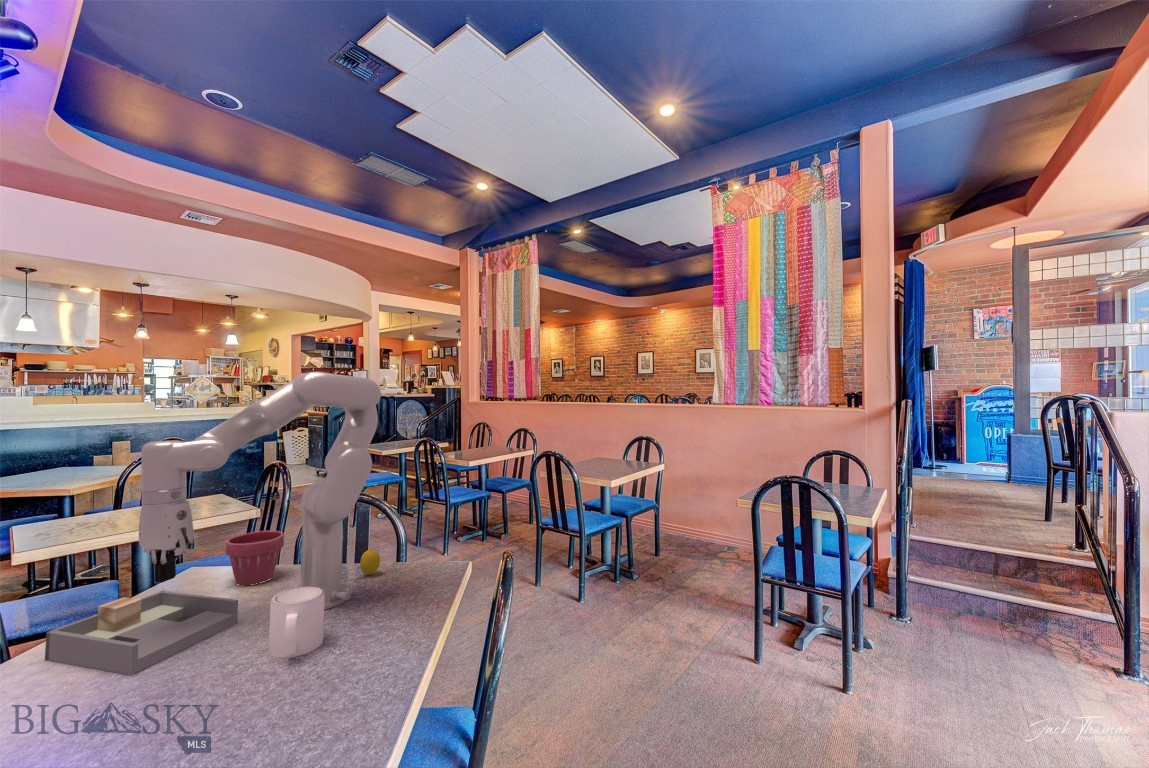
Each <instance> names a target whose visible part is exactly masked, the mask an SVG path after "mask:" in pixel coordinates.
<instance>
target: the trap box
mask: <svg viewBox="0 0 1149 768" xmlns="http://www.w3.org/2000/svg"><path fill="white" fill-rule="evenodd" d="M140 599H141V619H140V622H139V623H136V624H134V625H131V626H129V627H126V628H124V629H121V630H119V631H116V632H110V631H104V630H97V624H98V613H97V614H93V615H91V616H88V617H84V618H82V619H80V620H77V621H74V622H71V623H68V624H66V625H62V626H60V627H57V628H54V629H51V630H49V631H47V632H46V634H45V635H46V636H45V648H44V649H45V651H44V661H48V662H55V663H60V664H66V665H71V666H76V667H82V668H88V669H92V670H99V671H103V672H109V673H115V674H120V673H121V674H120V675H125V674H128V675H127V676H133V675H135V674H138V673H139V672H141V670H142V671H144V670H145V668H146V669H147V668H149V667H152V666H153V665H156V664H157V663H160V662H162V661H164V660H167V659H168V658H169V657H172V656H174V655H176V654H178V653H180V652H182V651H184V650H186V649H188V648H190V647H192V646H195V645H197V644H198V643H202V641H204V640H207V639H208V638H210V637H213V636H215V635H217V634H219V633H221V632H223V631H225V630H227V629H229V628H232V627H234V626H235V625H238V614H239V613H238V612H239V610H238V609H239V600H238V599H234V598H226V597H217V596H210V595H209V596H208V595H202V594H193V593H185V592H179V591H170V590H161V591H158V592H155V593H153V594H149V595H147V596H144V597H141V598H140ZM143 669H144V670H143ZM132 674H133V675H132Z"/></svg>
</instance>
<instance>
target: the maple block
mask: <svg viewBox="0 0 1149 768" xmlns="http://www.w3.org/2000/svg"><path fill="white" fill-rule="evenodd" d="M97 614H98V624H97V630H104V631H110V632H116V631H119V630H121V629H124V628H126V627H129V626H131V625H134V624H136V623H139V622H140V619H141V598H133V597H126V596H124V597H121V598H119V599H115V600H113V601H109V602H106V603H104V604H101V605H98V606H97Z"/></svg>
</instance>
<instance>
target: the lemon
mask: <svg viewBox="0 0 1149 768" xmlns="http://www.w3.org/2000/svg"><path fill="white" fill-rule="evenodd" d="M361 555H362V556H361V557H360V562H359V563H360V565H359V566H360V569H361V571H362V572H363V573H365V574H367V575H368V574H371V573H372V574H374V573H375V572H376V571H377V570H378V569H379V567H380V565H381V557H380V553H379V552H378V551H377V550H375V549H372V548H369V549H368V550H366V551H365V552H363V554H361ZM372 574H371V575H372Z"/></svg>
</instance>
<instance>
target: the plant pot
mask: <svg viewBox="0 0 1149 768" xmlns="http://www.w3.org/2000/svg"><path fill="white" fill-rule="evenodd" d="M225 543H226V544H225V555H226V556H228V557H229V560H230V564H231V569H232V573H233V577H234V581H235V584H236V585H237V584H239V585H251V584H256V583H260V582H263V581H266V580H268V579H270V578H272V577H274V574H275V569H276V567H277V563H278V559H279V555H280V552H281V549H282V548H283V547H284V543H285V537H284V532H282V531H279V530H259V531H252V532H248V533H247V532H246V533H242V534H238V535H234V536H232V537H230V538H228V539H227V540H226V542H225ZM272 579H273V578H272ZM239 585H238V586H239ZM251 586H252V585H251Z"/></svg>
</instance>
